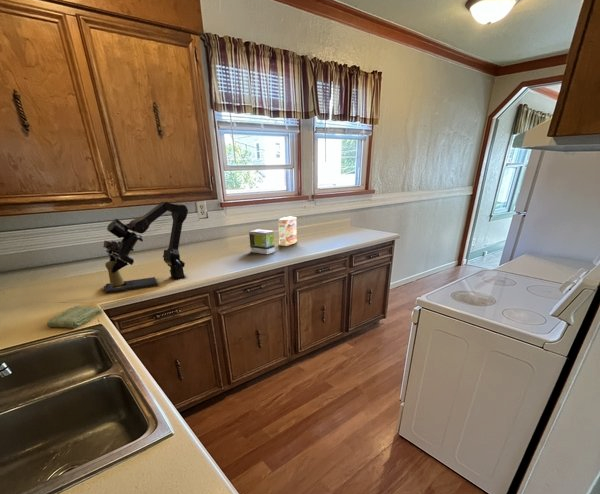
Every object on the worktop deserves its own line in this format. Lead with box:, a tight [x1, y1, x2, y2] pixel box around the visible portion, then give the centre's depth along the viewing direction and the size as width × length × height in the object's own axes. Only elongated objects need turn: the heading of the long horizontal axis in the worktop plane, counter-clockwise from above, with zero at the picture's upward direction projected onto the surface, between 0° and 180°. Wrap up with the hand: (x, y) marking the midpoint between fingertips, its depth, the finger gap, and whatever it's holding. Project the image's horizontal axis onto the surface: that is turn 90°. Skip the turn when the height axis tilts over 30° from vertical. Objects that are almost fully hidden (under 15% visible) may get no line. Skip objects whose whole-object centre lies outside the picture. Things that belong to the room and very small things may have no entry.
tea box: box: [248, 229, 276, 255], centre depth 230 cm, size 15×10×15 cm, turn 58°
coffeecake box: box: [278, 216, 298, 247], centre depth 251 cm, size 15×7×20 cm, turn 147°
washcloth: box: [46, 305, 103, 329], centre depth 134 cm, size 13×18×3 cm
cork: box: [104, 261, 125, 287], centre depth 156 cm, size 6×6×11 cm
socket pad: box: [103, 276, 158, 294], centre depth 170 cm, size 25×14×2 cm, turn 117°
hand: (110, 271), depth 155 cm, fingers closed on cork, 5 cm apart
